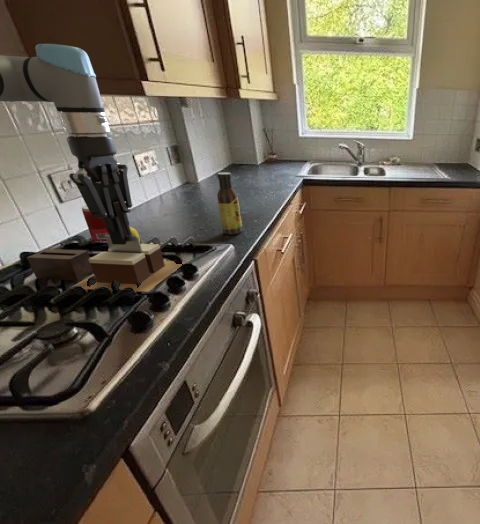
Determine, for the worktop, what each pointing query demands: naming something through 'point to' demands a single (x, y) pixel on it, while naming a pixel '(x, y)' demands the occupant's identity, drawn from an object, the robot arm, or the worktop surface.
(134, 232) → the lemon
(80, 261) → the knife block
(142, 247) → the cake
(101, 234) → the canned food
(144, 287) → the cutting board
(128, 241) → the scraper
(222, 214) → the sauce bottle
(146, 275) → the cake
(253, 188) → the worktop surface
